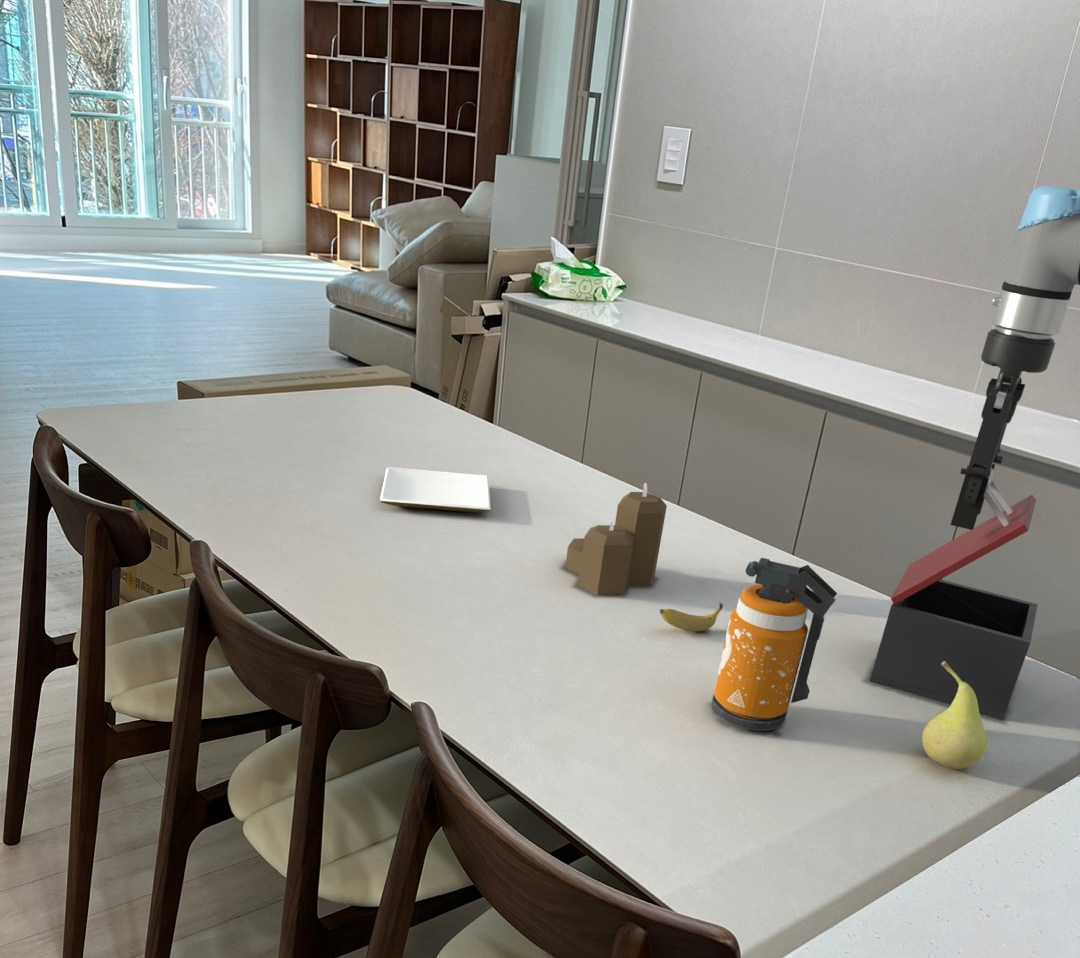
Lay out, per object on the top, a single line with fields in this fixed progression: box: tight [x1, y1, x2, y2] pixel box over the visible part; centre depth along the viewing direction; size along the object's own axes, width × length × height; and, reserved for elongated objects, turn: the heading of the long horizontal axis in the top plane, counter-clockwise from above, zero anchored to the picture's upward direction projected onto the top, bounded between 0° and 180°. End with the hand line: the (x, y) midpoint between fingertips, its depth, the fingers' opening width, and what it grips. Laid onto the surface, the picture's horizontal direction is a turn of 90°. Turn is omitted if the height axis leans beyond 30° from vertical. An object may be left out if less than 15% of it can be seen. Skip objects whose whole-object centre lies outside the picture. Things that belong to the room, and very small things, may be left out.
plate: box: [379, 466, 492, 514], centre depth 187 cm, size 19×19×2 cm
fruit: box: [921, 661, 988, 770], centre depth 121 cm, size 7×8×12 cm
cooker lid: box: [890, 468, 1037, 604], centre depth 136 cm, size 18×15×8 cm
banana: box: [659, 602, 724, 633], centre depth 148 cm, size 10×2×4 cm, turn 113°
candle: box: [564, 482, 667, 596], centre depth 160 cm, size 14×14×15 cm
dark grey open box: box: [869, 579, 1039, 721], centre depth 141 cm, size 17×15×11 cm
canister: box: [710, 557, 838, 731], centre depth 123 cm, size 9×11×20 cm
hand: (965, 518), depth 135 cm, fingers closed on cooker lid, 7 cm apart
